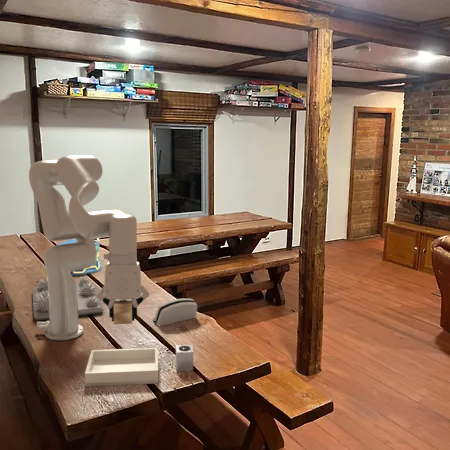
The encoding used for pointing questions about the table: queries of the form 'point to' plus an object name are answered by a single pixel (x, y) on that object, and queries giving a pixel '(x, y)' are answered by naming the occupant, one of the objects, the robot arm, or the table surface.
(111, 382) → the sorting tray
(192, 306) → the grey rounded slab
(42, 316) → the decorative tray
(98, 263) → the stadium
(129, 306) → the maple block
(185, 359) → the grey block
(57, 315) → the robot arm
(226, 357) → the table surface
